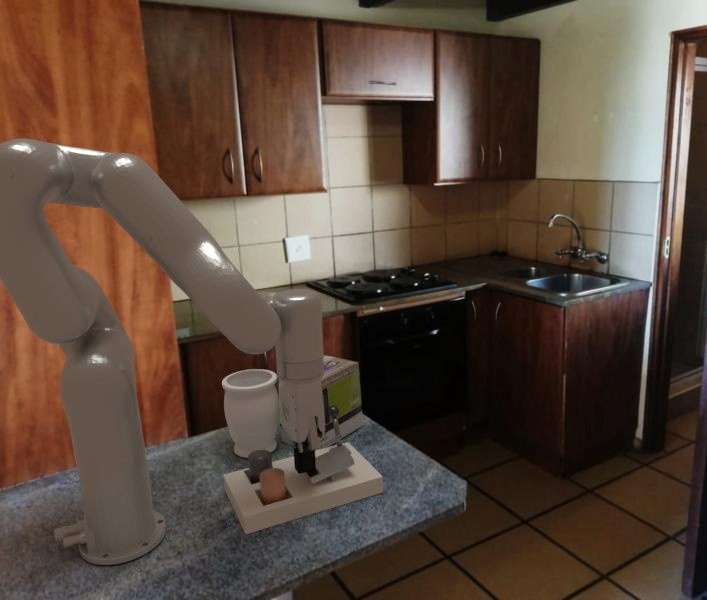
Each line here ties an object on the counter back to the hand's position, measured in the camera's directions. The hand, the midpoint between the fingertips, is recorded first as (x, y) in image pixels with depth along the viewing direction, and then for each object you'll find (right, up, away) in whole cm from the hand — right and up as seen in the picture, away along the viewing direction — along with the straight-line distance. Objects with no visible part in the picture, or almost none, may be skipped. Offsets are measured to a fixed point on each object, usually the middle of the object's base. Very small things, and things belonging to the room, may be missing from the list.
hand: (305, 469), depth 98 cm
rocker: (+4, 0, +2) cm, 4 cm away
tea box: (+2, 0, +23) cm, 23 cm away
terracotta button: (-5, -4, -2) cm, 7 cm away
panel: (-1, -5, +3) cm, 6 cm away
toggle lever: (+6, +2, +9) cm, 11 cm away
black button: (-8, -3, +4) cm, 9 cm away
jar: (-11, -1, +19) cm, 22 cm away
